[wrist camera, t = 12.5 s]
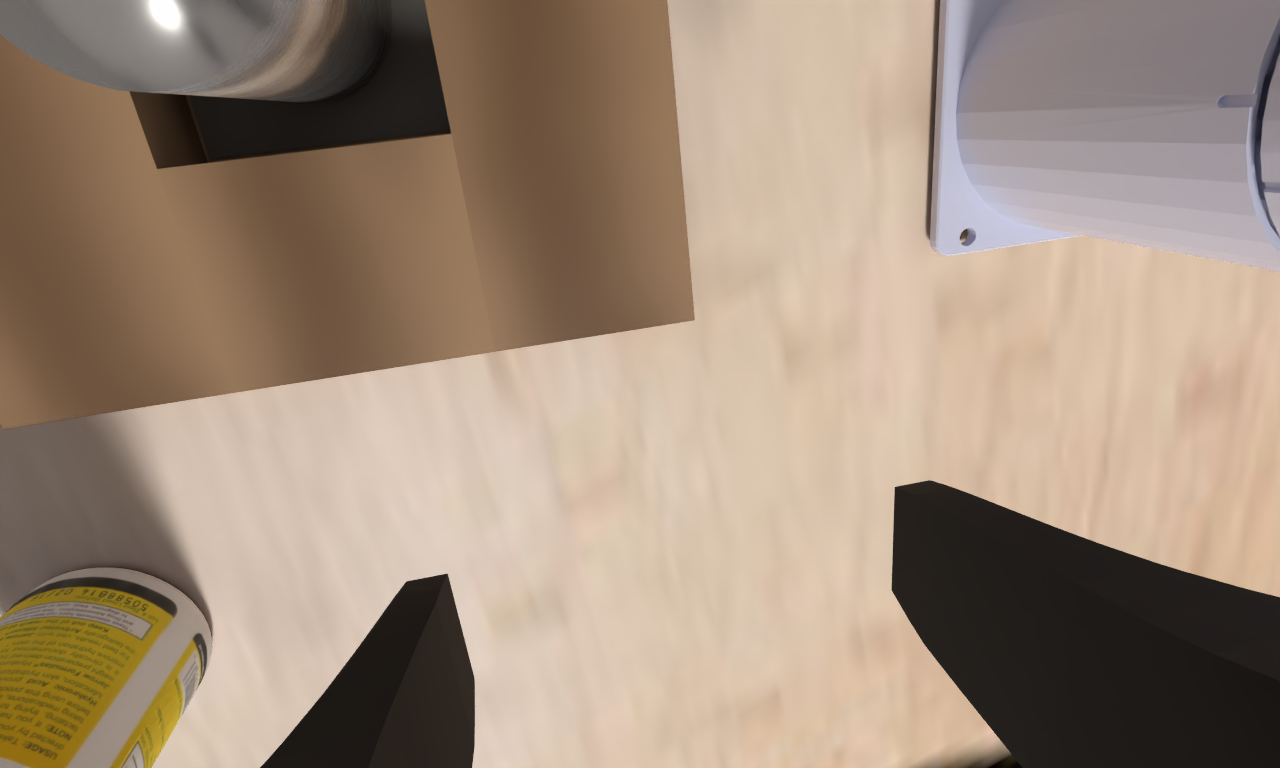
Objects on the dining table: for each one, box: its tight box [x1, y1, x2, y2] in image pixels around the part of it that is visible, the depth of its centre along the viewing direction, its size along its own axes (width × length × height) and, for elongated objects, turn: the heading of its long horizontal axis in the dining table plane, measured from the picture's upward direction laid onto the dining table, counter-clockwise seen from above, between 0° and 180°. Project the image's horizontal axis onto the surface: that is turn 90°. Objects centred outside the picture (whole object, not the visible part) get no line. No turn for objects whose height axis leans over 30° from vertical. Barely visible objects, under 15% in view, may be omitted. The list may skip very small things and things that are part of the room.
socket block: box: [0, 0, 695, 429], centre depth 15 cm, size 16×16×3 cm
